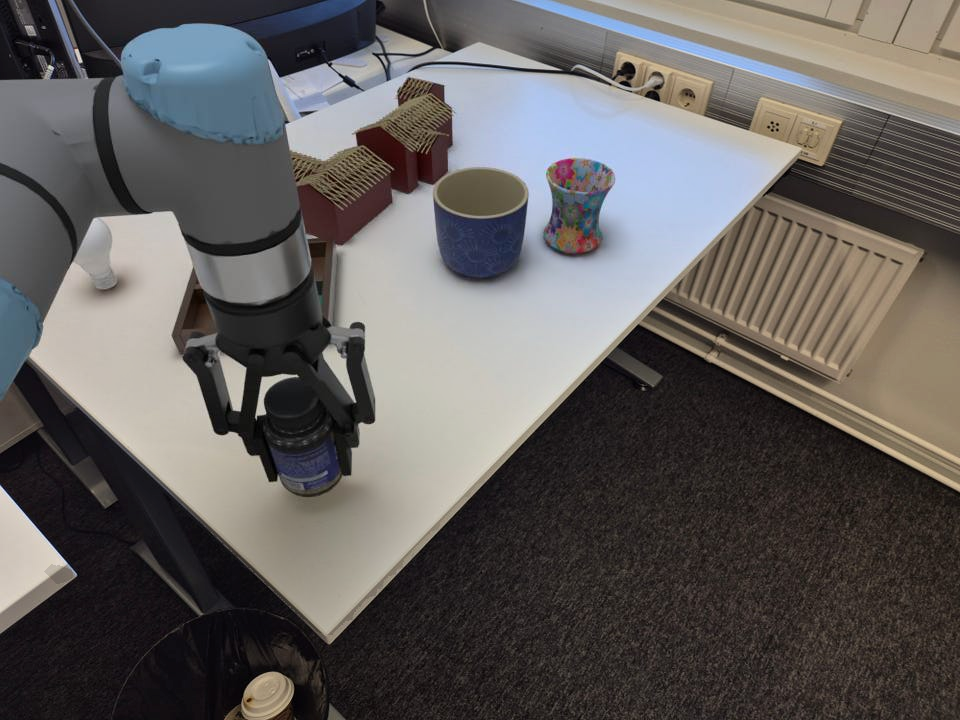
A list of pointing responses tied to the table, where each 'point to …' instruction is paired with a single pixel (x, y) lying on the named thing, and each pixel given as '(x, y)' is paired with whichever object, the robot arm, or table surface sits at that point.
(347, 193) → the toy houses
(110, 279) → the lightbulb
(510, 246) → the planter
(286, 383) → the pill bottle
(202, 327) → the wooden box
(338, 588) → the table surface
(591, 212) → the floral vase
